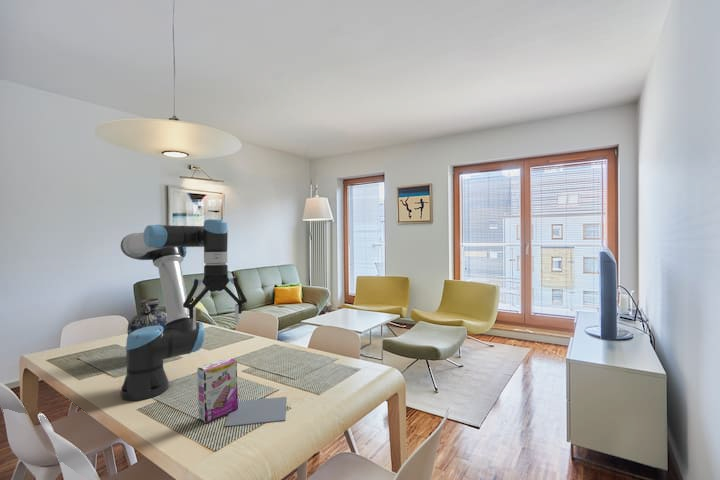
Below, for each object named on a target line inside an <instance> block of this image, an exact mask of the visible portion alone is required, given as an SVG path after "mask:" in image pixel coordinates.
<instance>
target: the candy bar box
mask: <svg viewBox="0 0 720 480" xmlns="http://www.w3.org/2000/svg"><path fill="white" fill-rule="evenodd" d="M237 366H238V363H237V360H236V359H234V358H231V357H228V358H225V359H221V360H218V361H214V362H211V363H209V364H204V365H201V366H199V367H197V393H198V395H197V397H198V399H197V400H198V401H197V402H198V403H197V404H198V419H199V420H200V421H202V422H203V423H205V424H208V423H209V422H212V421H214V420H217V419H218V418H220V417H223V416H225V415H229V413H230V412H232V411H235V410H237V409H238V401H239V399H238V397H239V396H238V395H239V394H238V367H237Z"/></svg>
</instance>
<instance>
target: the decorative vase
mask: <svg viewBox="0 0 720 480" xmlns="http://www.w3.org/2000/svg"><path fill="white" fill-rule="evenodd" d="M161 303H162V301H161V300H160V299H159V298H156V297H153V298H146V299H141V300H140V301H139V302H138V303H137V305H138V306H140V311H141V312H140V313H138V314H136V315H134V316H133V317H131V318H130V319H129V321H128V324H127V329H126V330H127V336H128V335H129V334H130V333H131V332H133V331H135V330H138V329H140V328H144V327H148V326H155V325H160V326H162V327H163V329H164V328H165V326H164V325H165V323H166V322H167V321H168V318H167V313H166V311H165V312H164V311H161V310H159V308H160V307H159V305H160V304H161Z"/></svg>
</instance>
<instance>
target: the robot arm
mask: <svg viewBox="0 0 720 480" xmlns="http://www.w3.org/2000/svg"><path fill="white" fill-rule="evenodd" d="M228 232H229V230H228V222H227V221H226V220H225V219H216V218H215V219H205V220H204V221H203V225H170V224H169V225H167V224H149V225H147V226H145V228H144V231H143V232H133V233H129V234H127V235H125V236H124V237H123V238H122V240H121V242H120V249H121V252H122V254H124V255H125V256H126V257H129V258H130V259H133V260H139V261H152V265H153V266H154V267H155V268H158V274H159V280H160V284H161V285H160V286H161V290H162V291H161V292H162V295H163V301H164V306H165V313H166V314H167V318H168V321H167V322H166V323H165V325H164V326H165V328H164V329H163V327H162V326H160V325H155V326H148V327H144V328H140V329H138V330H135V331H133V332H131V333H130V334H129V335H128V334H127V337H126V345H125V350H126V351H125V352H126V356H125V357H126V359H125V360H126V374H125V377H124V381H123V383H122V386H121V390H120V398H121V399H122V400H125V401H141V400H146V399H150V398H153V397H157V396H160V395H161V394H163V393H165V392H166V391H167V390H168V389H169V387H170V386H169V384H170V383H169V379H168V375H167V373H166V371H165V368H164V360H167V359H171V358H176V357H179V356H183V355H190V354H192V353H196V352H198V351H200V350H201V349H202V347H203V345H204V341H205V336H206V335H205V334H206V332H205V327H204V324H203V323H202V322H201V321H198V320H197V316H196V315H197V309H196V305H197V304H198V303H199V302H200V301H201V300H202V299H203V297H205V295H206V294H208V292H209V291H210V292H212V293H213V292H222V291H223V290H224V291H225V292H226V293H227V294H228V295H229V296H230V297H231V299H233V300H234V302H235V304H234V322H235V324H236V325H238V324H240V323H239V318H240V317H239V315H240V314H242V308H243V306H242V305H243V304H244V303H245V304H246V303H247V302H248V299H247V298H246V295H245V294H244V292H243V290H242V289H241V287H240V285H239V283H238V277H236V276H233V277H229V276H228V273H229V272H228V270H229V269H228V265H227V263H228V237H229V234H228ZM187 248H203V263H204V264H205V265H204V266H203V279H197V278H194V279H193V285H192V287H191V289H190V291H189V293H188V295H187V289H186V285H185V279H184V276H183V275H184V274H183V270H182V264H181V263H182V262H183V261H184V258H185V257H186V255H187ZM229 283H231V284H233V286H234V288H235V290H236V291H237V293H238V296H239V297H240V298H238V296H236V295H235V294H234V293H233V292H232V290H231V289H230V288H229V287H228V284H229ZM201 285H204V288H203V289H202V290H201V292H200V293H198V295H197V296H196V297H195V298H194V300H193V301H192V302H191V300H192V299H193V296H194V294H195V293H196V291H197V289H198V287H199V286H201ZM190 302H191V303H190Z"/></svg>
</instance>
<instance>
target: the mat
mask: <svg viewBox="0 0 720 480" xmlns="http://www.w3.org/2000/svg"><path fill="white" fill-rule="evenodd" d="M227 415H228V416H227V418H226V420H225V423H224V428H227V427H226V426H230V427H236V426H237V427H238V425H239V426H247V425H248V424H249V425H257V424H267V423H268V424H269V423H276V422H285V421H286V417H287V396H281V397H271V398H261V399H260V398H259V399H247V400H238V409H237V410H235V411H232V412H230V413H228V414H227Z"/></svg>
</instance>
